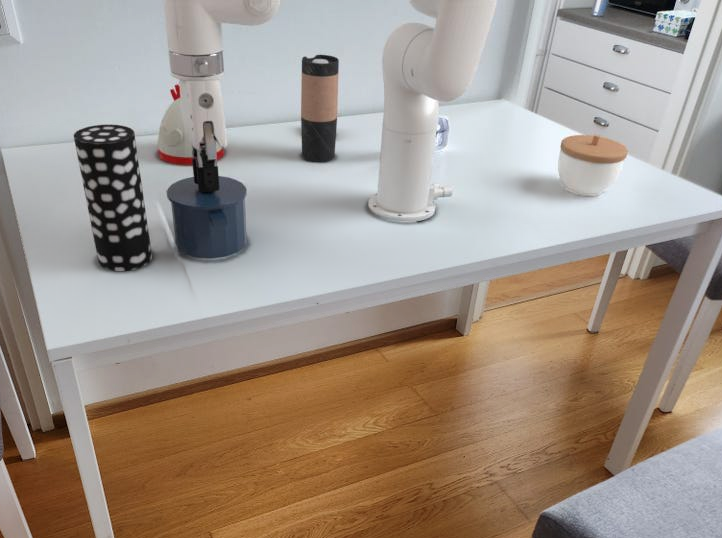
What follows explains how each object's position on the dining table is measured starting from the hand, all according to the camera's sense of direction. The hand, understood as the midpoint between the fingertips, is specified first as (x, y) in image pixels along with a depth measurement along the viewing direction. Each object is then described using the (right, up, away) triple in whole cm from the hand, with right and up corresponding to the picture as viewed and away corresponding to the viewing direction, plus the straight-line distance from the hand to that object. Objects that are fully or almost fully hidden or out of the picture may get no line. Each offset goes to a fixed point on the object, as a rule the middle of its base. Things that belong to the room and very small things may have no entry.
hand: (206, 185), depth 107 cm
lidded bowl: (+71, +7, +31) cm, 78 cm away
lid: (0, -1, +1) cm, 1 cm away
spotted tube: (-13, -11, +2) cm, 18 cm away
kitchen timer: (-11, +17, +40) cm, 45 cm away
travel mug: (+17, +17, +41) cm, 47 cm away
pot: (0, -8, +6) cm, 10 cm away
